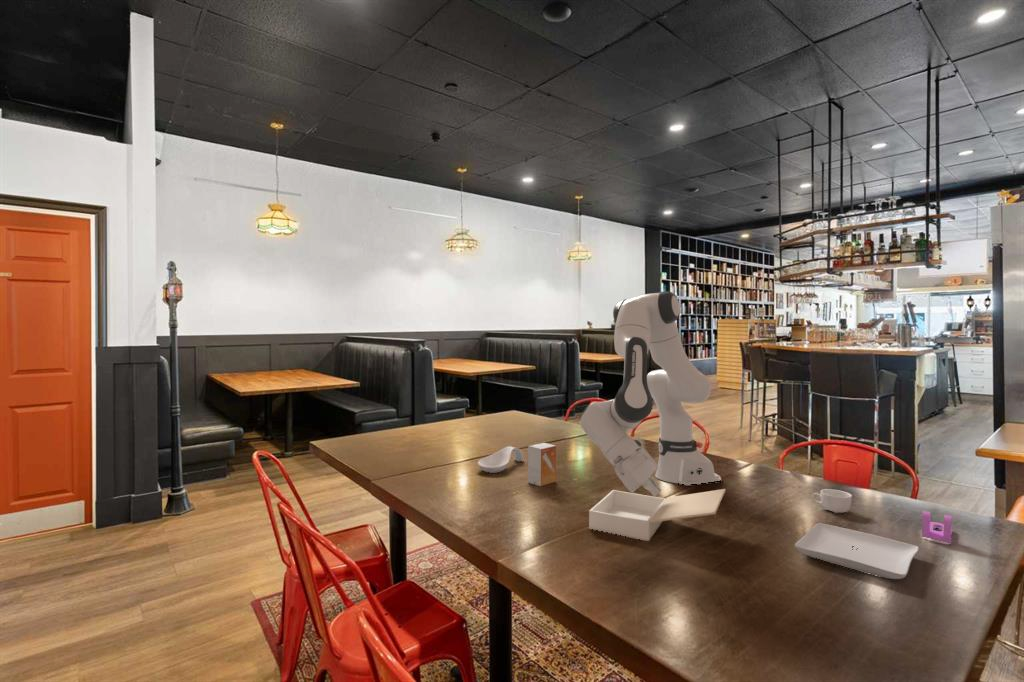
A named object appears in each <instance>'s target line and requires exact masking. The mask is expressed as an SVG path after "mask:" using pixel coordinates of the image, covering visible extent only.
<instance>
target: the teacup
mask: <svg viewBox="0 0 1024 682" xmlns="http://www.w3.org/2000/svg"><path fill="white" fill-rule="evenodd" d="M814 496H818V498H819V499H820V501H819V500H817V499H815V498H814ZM852 498H853V495H852V493H850V492H847V491H843V490H838V489H832V488H824V489H821V490H820V493H818V492H814V493H813V494H812V495H811V499H812V500H813V501H814V502H815V503H817V504H820V505H822V507H823V508H824V510H826V509H827V510H830V511H834V512H846V513H848V512H849V511H850V509H851V506H852ZM827 510H826V511H827Z"/></svg>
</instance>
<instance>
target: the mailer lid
mask: <svg viewBox="0 0 1024 682" xmlns="http://www.w3.org/2000/svg"><path fill="white" fill-rule="evenodd" d="M725 493H726V488H722V489H716V490H709V491H703V492H702V491H701V492H696V493H689V494H682V495H676V496H675V495H674V496H669V497H667V498H665V499H666V501H665V502H664V503H663V504H662V506H661V507H660V508H659V510H658V511H657V512H656V513H655V515H654V516H653V517H652V519H651V520H650V522H659V521H663V522H665V521H673V520H681V519H682V520H683V519H688V518H696V517H698V518H699V517H703V516H712V515H716V513H717V511H718V509H719V506H720V504H721V501H722V499H724V498H723V497H724V495H725Z"/></svg>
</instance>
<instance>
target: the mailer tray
mask: <svg viewBox="0 0 1024 682" xmlns="http://www.w3.org/2000/svg"><path fill="white" fill-rule="evenodd" d="M666 499H667V498H665V497H664V498H663V497H660V496H653V495H645V494H640V493H635V492H630V491H629V492H628V491H621V490H615V489H612V490H611V491H610V492H608V494H607V495H605V496H604V497H602V499H601V500H600V501H599V502H597V503H596V504H595V505H594V506H592V507H591V509H589V510H588V525H589V526H588V529H589V530H592V529H593V530H592V531H596V530H598V531H597V532H601V531H603V532H602V533H606V532H608V533H607V534H611V533H612V534H611V535H615V534H617V535H616V536H620V535H621V536H620V537H625V536H626V537H625V538H629V539H630V538H631V539H634V540H639V539H640V540H641V541H645V542H650V541H651V539H652V537H653V536H654V534H656V532H657V530H658V529H659V528H660V526H661V525H662V523H663V522H664V521H659V522H650V520H651V519H652V517H653V516H654V515H655V513H656V512H657V511H658V510H659V508H660V507H661V506H662V504H663V503H664V502H665V501H666Z"/></svg>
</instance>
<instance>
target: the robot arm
mask: <svg viewBox="0 0 1024 682" xmlns="http://www.w3.org/2000/svg"><path fill="white" fill-rule="evenodd" d="M680 305H681V304H680V301H679V298H678V297H677V295H676V294H674V293H673V292H672V291H660V292H654V293H646V294H642V295H639V296H635V297H632V298H628V299H626V298H625V299H623V300H620V301H619V302H617V303H616V304H615V306H614V307H613V312H612V314H613V315H612V316H613V322H615V325H614V326H615V327H614V336H613V341H614V343H613V344H614V351H615V353H616V354H617V356H619V357H620V358H622V359H623V361H624V363H623V364H624V365H623V368H624V369H623V380H622V381H623V382H622V385H621V386H620V387H619V388H618V390H617V393H616V395H615V397H614V398H613V399H609V400H604V401H592V402H590V403H589V404H588V405H587V406H586V407H585V409H584V410H583V411H582V412H581V414H580V417H579V419H578V423H579V424H580V427H581V428H582V431H584V433H585V434H586V435H587V437H588V438H589V439H590V440H591V442H592V443H594V444H595V445H596V446H597V447H598V448H599V449H600V450H601V453H602V455H603V456H604V457H605V458H606V459H607V460H608V462H610V464H611V465H612V466H613V467H614V472H615V474H616V475H617V477H618V478H619V480H620V481H621V483H622V484H623V485H624V486H625V488H626V489H627V490H628V491H629V492H630V493H635V491H636V490H637V489H638V488H641V486H642V487H643V488H644V489H645V490H647V491H648V492H649V493H651V496H653V497H657V496H658V495H659V494H660V493H661V491H662V489H661V487H660V486H659V485H658V483H657V482H656V479H658V480H660V481H664V482H668V483H673V484H678V483H679V485H682V484H684V485H683V486H692V485H691V484H697V485H702V484H701V483H706V484H709V483H708V482H714V481H720V480H721V481H722V477H721V476H720V475H719V474H717V473H715V468H714V467H715V466H714V464H713V462H712V461H711V460H710V459H709V458H708V457H707V456H705V455H704V454H703V453H702V452H701V451H699V450H698V448H699V449H701V448H703V443H702V442H700V441H696V440H695V439H693V418H692V415H690V414H689V413H688V412H687V411H686V410H685V408H684V406H683V404H682V403H689V404H692V403H693V404H695V403H703V402H704V401H706V400H707V399H708V398H709V397H710V395H711V391H712V384H711V381H710V379H709V377H707V376H706V375H705V374H703V373H702V372H701V371H700V370H698V369H697V368H696V366H695V365H694V364H693V363H692V362H691V359H689V357H688V356H687V353H686V351H685V349H684V346H683V343H682V340H681V336H680V332H679V329H678V326H677V323H676V321H677V319H679V317H680V314H681V306H680ZM649 351H650V355H651V358H652V360H653V362H654V363H655V364H656V365H658V366H659V367H660V368H661V369H655V370H651V371H650V372H648V354H649ZM653 402H654V403H655V405H656V408H657V412H658V415H659V427H660V428H659V437H658V455H659V457H658V462H656V461H655V459H654V458H653V457H652V456H651V454H650V453H649V452H648V451H647V450H646V449H645V448H644V447H643V443H642V442H641V441H640V440H638V439H636V438H635V439H634V438H632V437H630V435H629V434H628V433H627V432H629V431H632V430H633V429H635V428H636V427H638V425H639V424H640V423H642V421H643V420H645V419H646V418H647V417H648V416H650V415H651V413H652V410H653V407H654V403H653ZM654 473H655V475H654V476H655V477H656V479H655V477H654V476H653V474H654Z"/></svg>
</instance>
